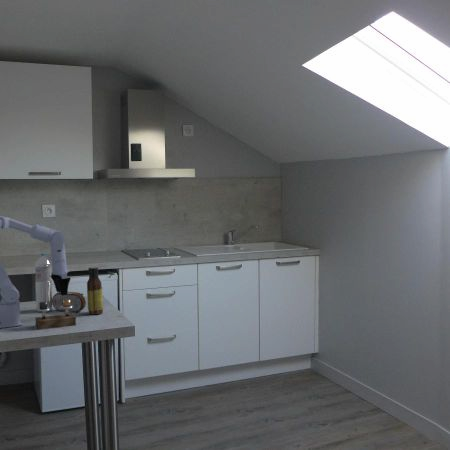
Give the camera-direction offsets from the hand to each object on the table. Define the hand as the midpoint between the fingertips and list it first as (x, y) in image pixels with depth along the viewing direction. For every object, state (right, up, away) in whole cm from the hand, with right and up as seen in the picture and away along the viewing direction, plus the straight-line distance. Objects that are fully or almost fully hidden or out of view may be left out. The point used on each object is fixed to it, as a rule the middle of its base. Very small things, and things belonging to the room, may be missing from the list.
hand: (61, 293), depth 245 cm
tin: (-1, -10, +15) cm, 18 cm away
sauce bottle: (+11, -10, +12) cm, 19 cm away
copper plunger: (+4, -8, -6) cm, 11 cm away
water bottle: (-12, -10, +16) cm, 22 cm away
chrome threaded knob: (-4, -9, -11) cm, 14 cm away
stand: (0, -12, -8) cm, 14 cm away
